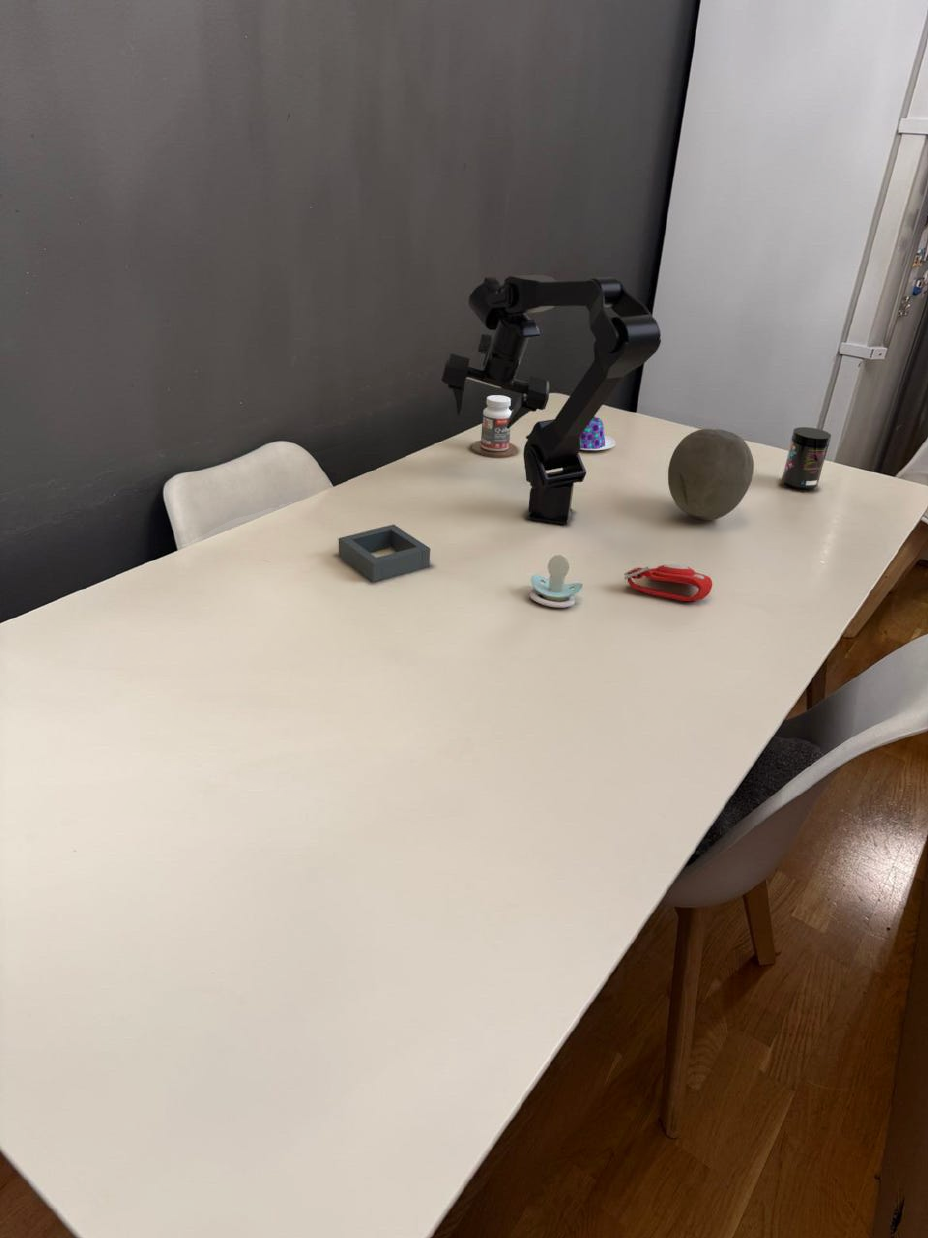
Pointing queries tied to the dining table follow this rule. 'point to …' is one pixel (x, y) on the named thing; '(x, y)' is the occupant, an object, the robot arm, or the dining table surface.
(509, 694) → the dining table surface
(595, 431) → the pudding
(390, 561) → the bottle stand
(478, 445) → the coaster
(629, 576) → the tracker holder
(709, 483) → the grey brown round stone
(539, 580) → the pacifier
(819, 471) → the supplement container
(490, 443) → the pill bottle
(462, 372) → the robot arm
